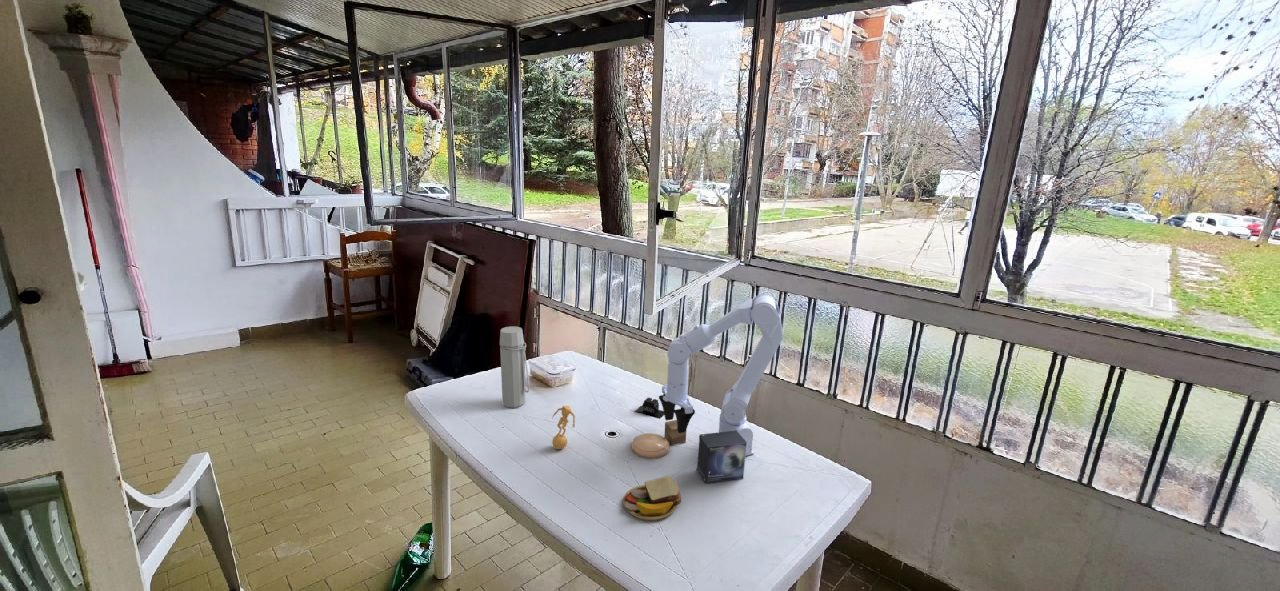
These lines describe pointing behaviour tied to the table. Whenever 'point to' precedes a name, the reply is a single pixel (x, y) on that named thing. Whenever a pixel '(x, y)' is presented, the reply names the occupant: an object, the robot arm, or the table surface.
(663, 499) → the toy sandwich meal
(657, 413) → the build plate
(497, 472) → the table surface
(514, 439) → the table surface
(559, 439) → the figurine
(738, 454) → the small box
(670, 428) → the walnut block
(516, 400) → the water bottle
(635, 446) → the pedestal
